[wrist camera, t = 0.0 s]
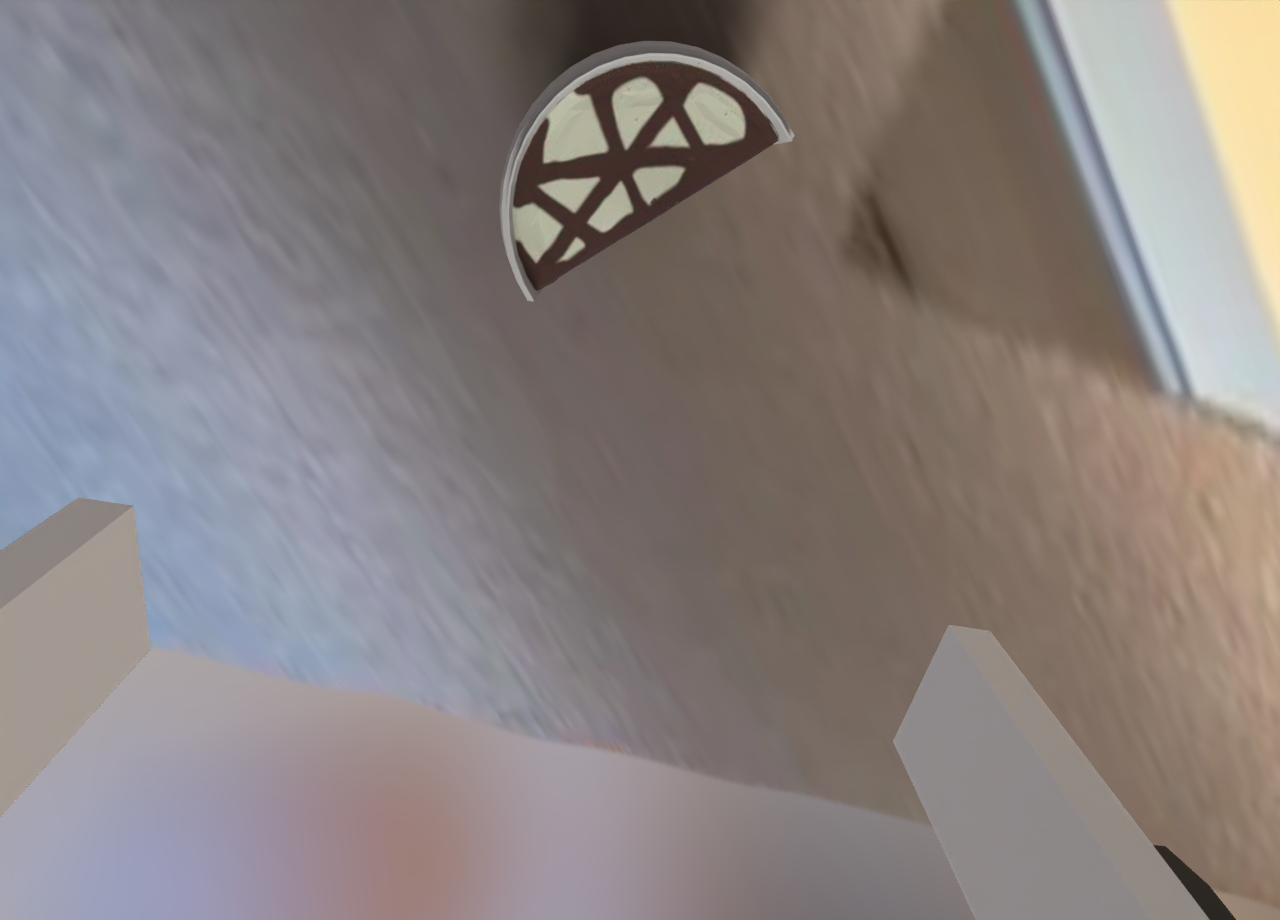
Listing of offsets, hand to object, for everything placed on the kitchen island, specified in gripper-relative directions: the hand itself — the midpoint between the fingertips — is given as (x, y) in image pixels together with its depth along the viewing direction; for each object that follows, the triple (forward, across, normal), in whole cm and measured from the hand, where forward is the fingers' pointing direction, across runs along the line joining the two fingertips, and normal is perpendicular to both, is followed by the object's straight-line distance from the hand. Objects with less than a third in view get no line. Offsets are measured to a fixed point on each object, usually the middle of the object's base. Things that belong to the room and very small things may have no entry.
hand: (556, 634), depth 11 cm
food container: (+28, 0, +7) cm, 29 cm away
